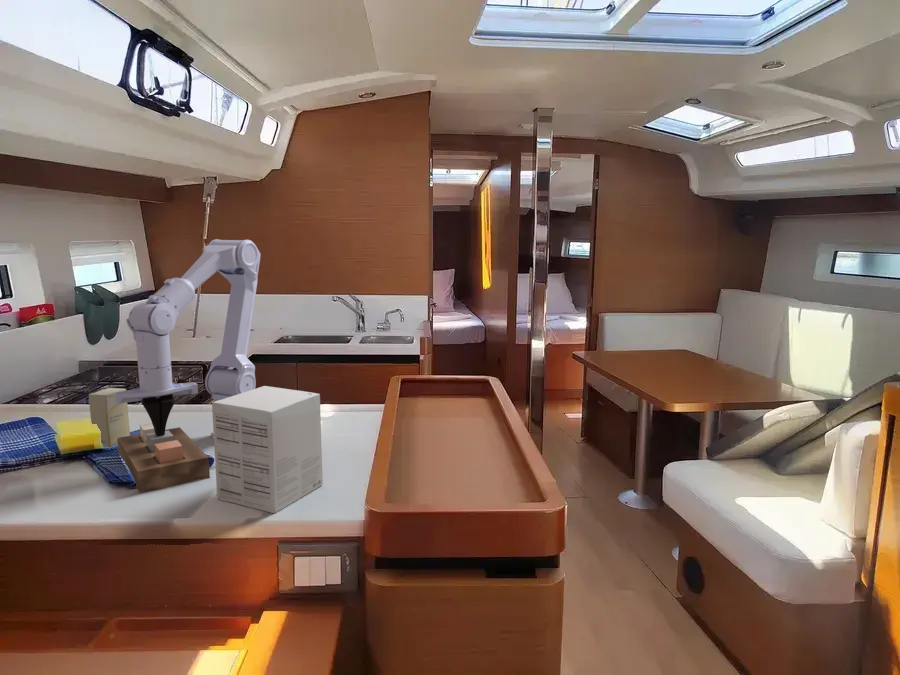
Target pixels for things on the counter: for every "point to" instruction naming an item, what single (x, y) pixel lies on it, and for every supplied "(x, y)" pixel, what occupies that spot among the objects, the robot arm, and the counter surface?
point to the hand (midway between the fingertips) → (159, 434)
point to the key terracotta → (168, 452)
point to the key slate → (158, 440)
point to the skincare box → (109, 416)
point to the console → (167, 473)
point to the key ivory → (146, 431)
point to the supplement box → (267, 447)
